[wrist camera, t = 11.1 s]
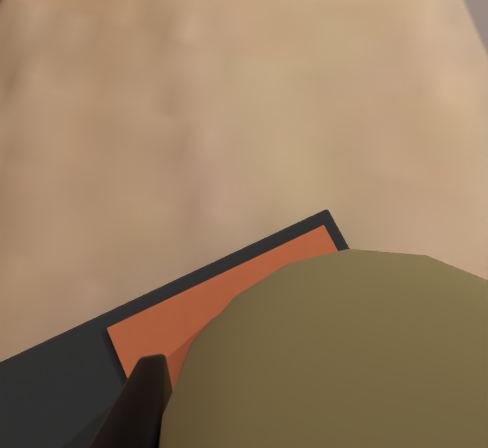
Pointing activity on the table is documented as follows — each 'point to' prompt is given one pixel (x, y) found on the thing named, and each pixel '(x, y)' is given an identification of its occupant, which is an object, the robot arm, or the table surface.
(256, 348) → the cork
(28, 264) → the table surface
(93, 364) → the rubber mat
